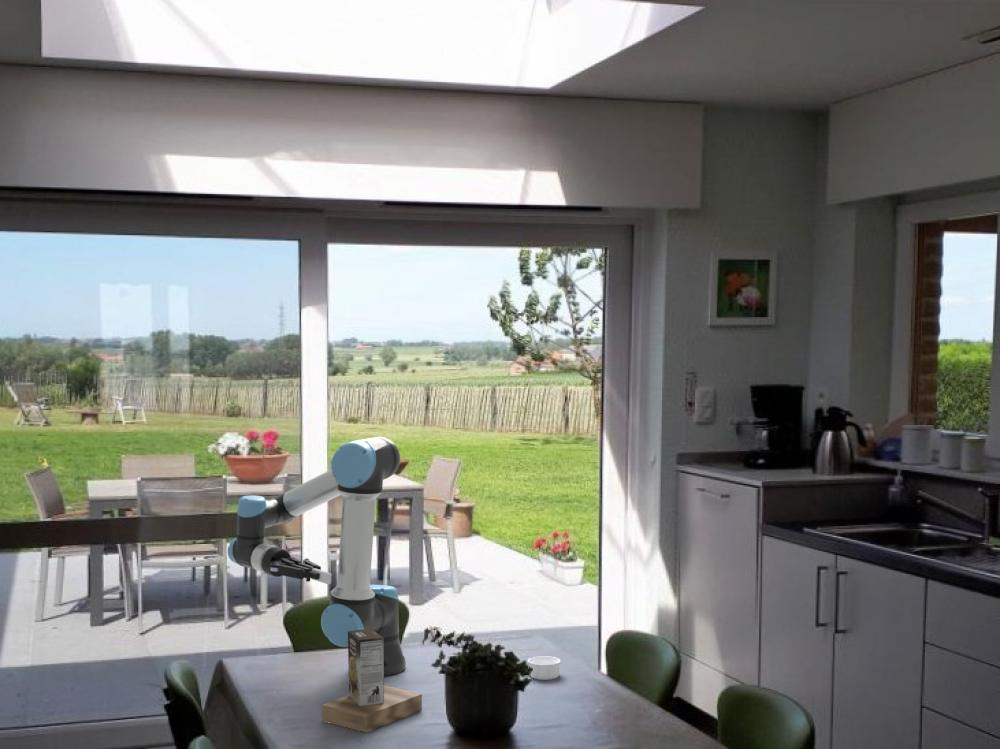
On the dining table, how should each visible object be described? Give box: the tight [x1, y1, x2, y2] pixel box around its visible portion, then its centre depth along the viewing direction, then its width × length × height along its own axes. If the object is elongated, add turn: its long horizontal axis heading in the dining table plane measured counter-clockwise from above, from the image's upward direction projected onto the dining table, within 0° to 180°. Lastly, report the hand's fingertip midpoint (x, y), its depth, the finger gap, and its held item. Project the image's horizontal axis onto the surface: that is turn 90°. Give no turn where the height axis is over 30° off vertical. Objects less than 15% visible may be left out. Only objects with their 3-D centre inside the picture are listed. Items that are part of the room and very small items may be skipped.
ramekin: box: [527, 655, 562, 681], centre depth 320 cm, size 9×9×4 cm
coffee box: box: [347, 629, 385, 706], centre depth 288 cm, size 9×6×16 cm
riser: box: [321, 685, 423, 733], centre depth 289 cm, size 20×14×4 cm
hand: (329, 578), depth 306 cm, fingers closed
